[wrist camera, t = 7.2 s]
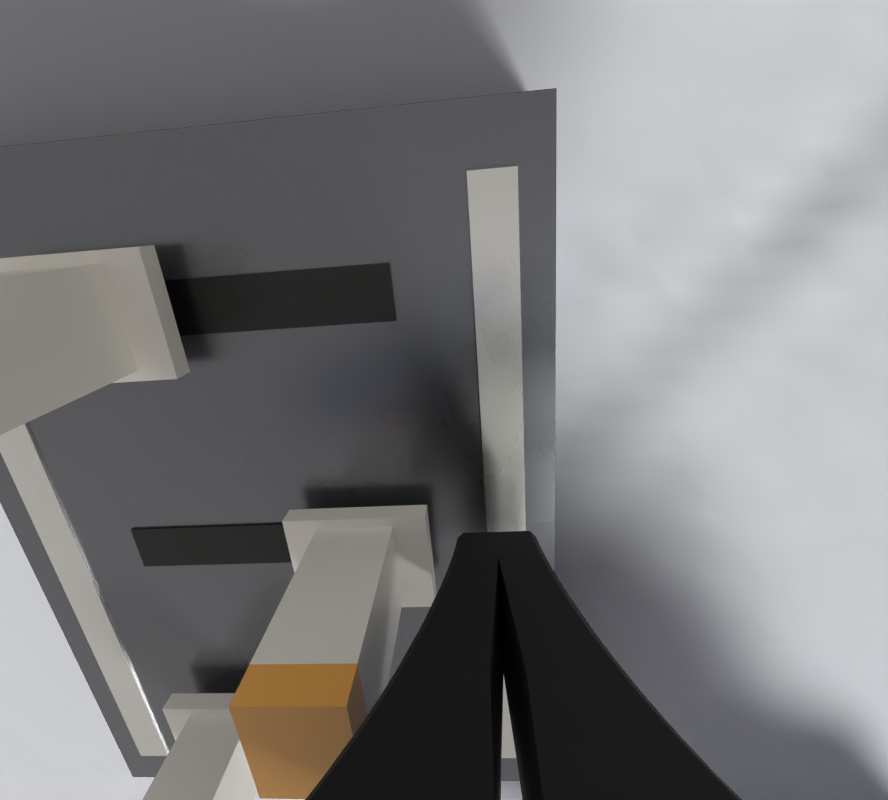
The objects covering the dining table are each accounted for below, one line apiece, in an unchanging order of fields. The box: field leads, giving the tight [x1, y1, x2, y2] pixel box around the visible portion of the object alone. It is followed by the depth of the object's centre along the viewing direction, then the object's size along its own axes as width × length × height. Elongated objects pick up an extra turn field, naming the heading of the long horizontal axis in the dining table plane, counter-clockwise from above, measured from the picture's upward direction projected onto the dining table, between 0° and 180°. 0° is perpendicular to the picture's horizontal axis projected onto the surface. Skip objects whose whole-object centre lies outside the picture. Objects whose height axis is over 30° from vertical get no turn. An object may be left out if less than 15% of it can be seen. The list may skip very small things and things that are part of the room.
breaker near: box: [0, 245, 190, 435], centre depth 7 cm, size 3×2×3 cm
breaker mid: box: [229, 505, 437, 799], centre depth 8 cm, size 3×2×4 cm
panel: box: [0, 88, 556, 781], centre depth 11 cm, size 12×16×2 cm
